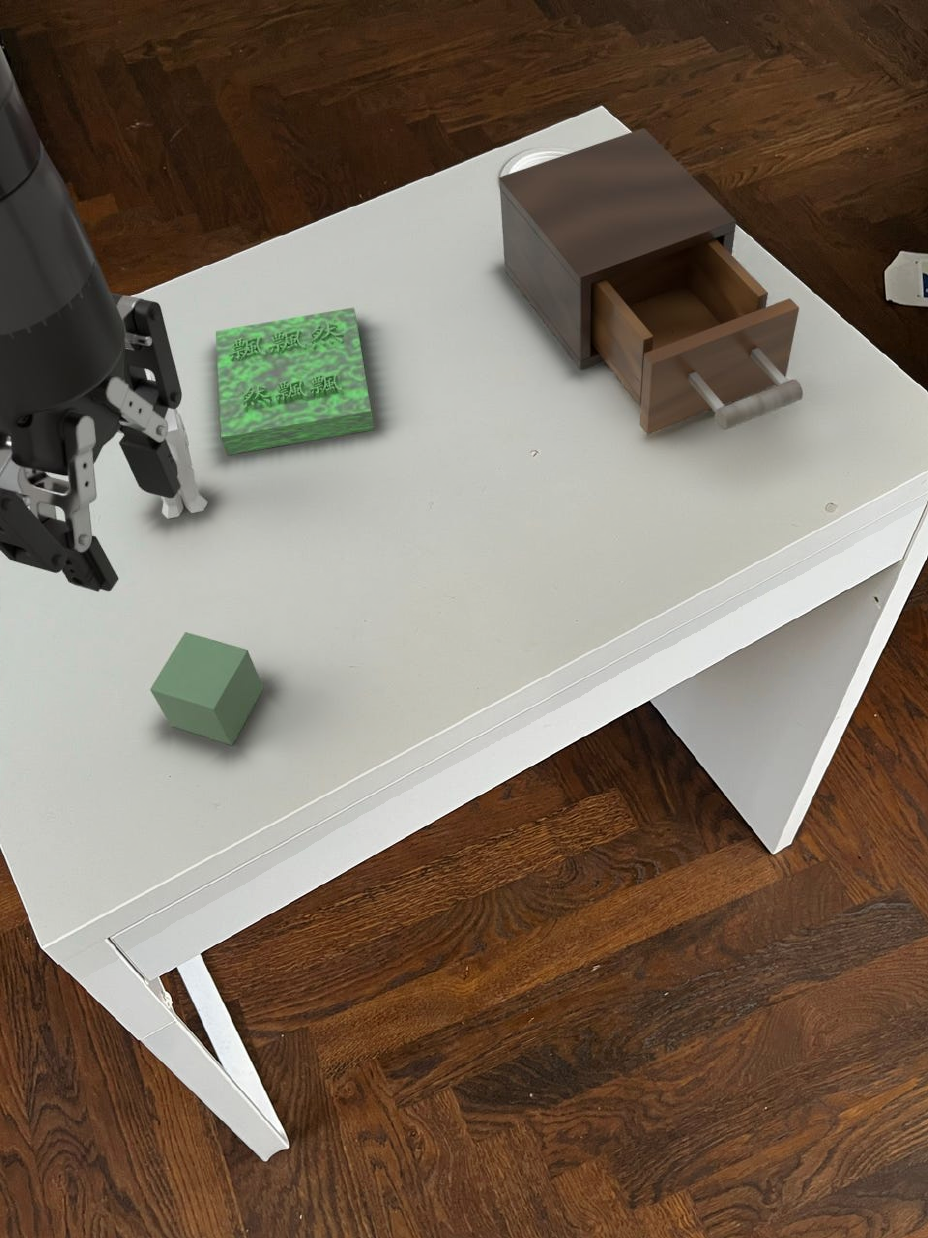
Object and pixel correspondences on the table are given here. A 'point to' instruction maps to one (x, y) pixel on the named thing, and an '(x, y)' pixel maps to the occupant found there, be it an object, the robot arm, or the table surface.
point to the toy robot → (180, 468)
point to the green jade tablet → (292, 381)
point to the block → (208, 688)
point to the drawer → (695, 338)
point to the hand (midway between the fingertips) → (131, 534)
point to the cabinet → (599, 226)
